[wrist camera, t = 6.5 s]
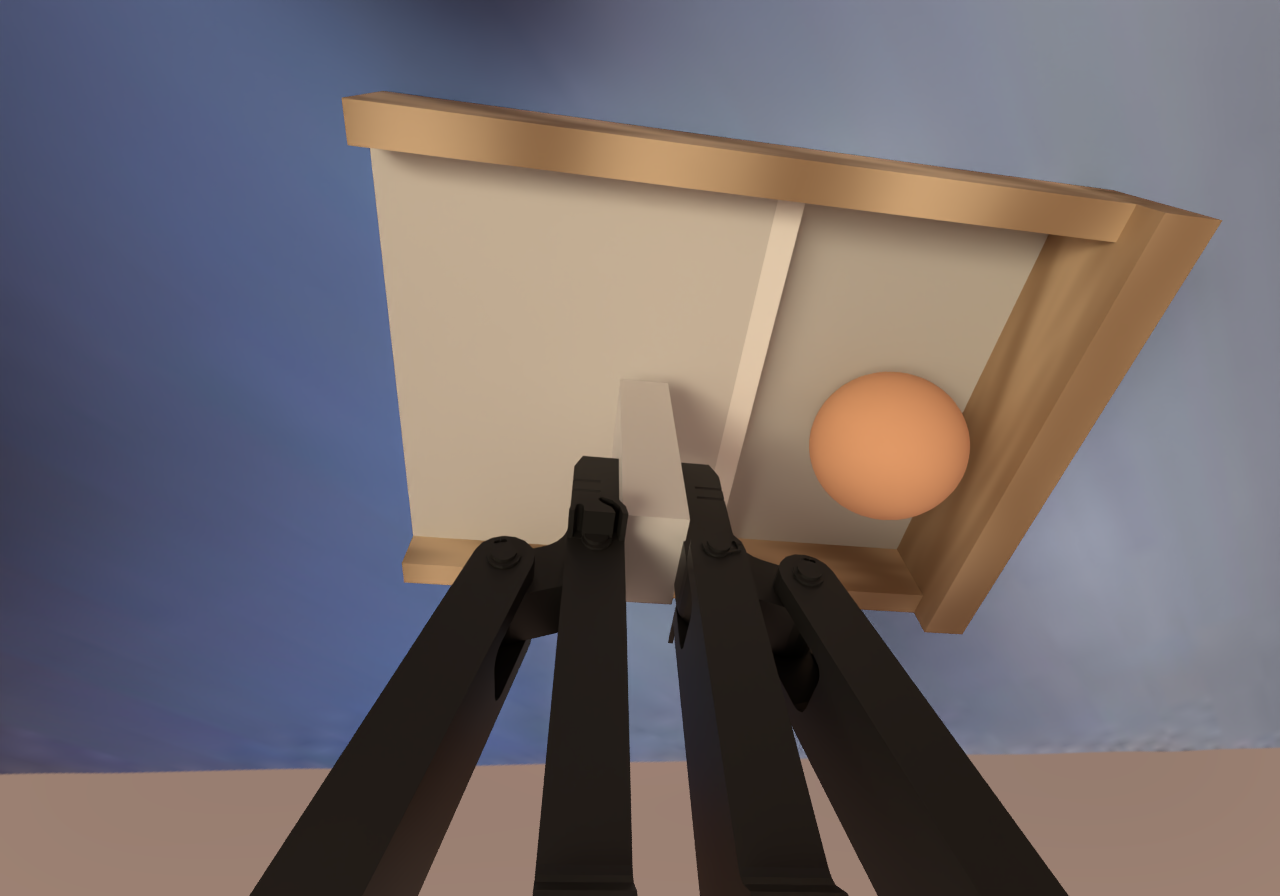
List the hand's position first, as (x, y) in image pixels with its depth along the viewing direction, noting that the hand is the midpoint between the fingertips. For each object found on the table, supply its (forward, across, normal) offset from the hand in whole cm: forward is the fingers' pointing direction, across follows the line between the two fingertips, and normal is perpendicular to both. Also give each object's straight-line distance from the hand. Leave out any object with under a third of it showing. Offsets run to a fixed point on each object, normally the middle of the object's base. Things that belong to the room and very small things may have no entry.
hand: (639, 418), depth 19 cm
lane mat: (+3, +3, 0) cm, 4 cm away
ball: (0, +8, 0) cm, 9 cm away
